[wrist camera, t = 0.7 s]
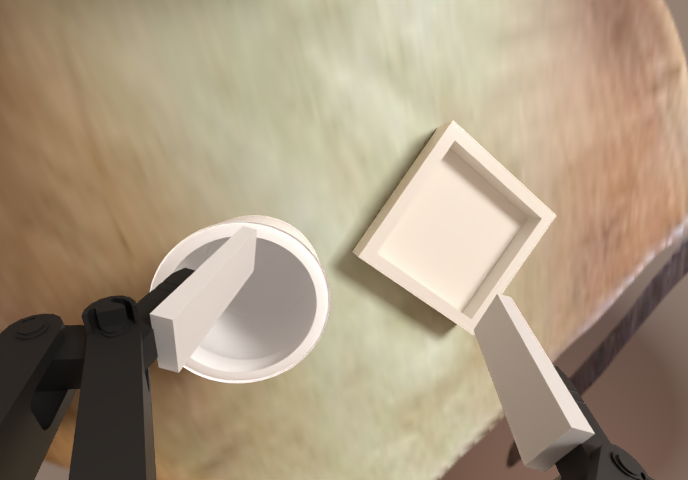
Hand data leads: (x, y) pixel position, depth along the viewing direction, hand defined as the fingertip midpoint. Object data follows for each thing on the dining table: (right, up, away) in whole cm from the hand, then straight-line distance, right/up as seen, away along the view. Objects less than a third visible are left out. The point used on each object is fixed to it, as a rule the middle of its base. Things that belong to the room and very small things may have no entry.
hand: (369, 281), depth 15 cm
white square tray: (+12, +3, +20) cm, 24 cm away
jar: (-10, 0, +16) cm, 19 cm away
